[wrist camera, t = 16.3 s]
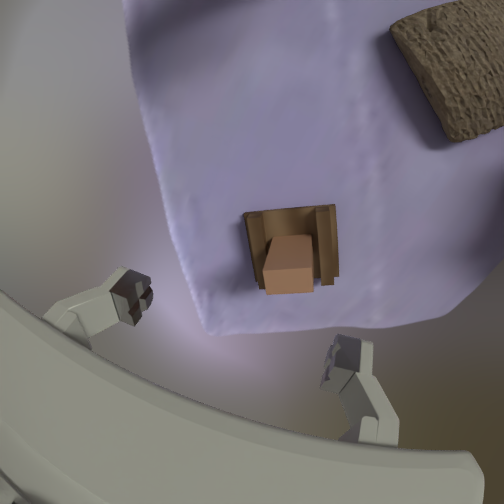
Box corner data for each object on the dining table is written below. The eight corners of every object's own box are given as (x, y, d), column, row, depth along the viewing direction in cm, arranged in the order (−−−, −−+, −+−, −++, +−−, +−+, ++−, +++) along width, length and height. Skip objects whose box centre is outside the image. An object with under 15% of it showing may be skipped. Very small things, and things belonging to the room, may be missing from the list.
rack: (256, 279, 51) (253, 289, 48) (244, 212, 46) (240, 219, 43) (338, 274, 48) (340, 284, 45) (334, 204, 43) (336, 210, 40)
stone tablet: (497, -4, 20) (380, 29, 30) (520, -14, 12) (395, 13, 23) (545, 94, 25) (444, 146, 36) (572, 97, 18) (469, 154, 29)
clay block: (276, 257, 48) (266, 294, 38) (273, 237, 46) (262, 270, 37) (313, 254, 46) (313, 292, 37) (311, 233, 45) (311, 267, 35)
